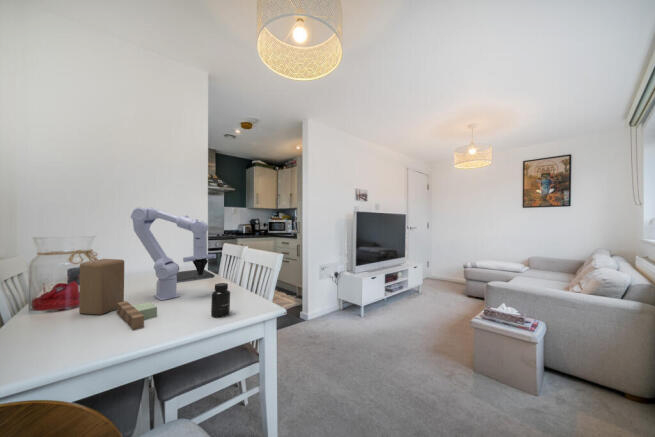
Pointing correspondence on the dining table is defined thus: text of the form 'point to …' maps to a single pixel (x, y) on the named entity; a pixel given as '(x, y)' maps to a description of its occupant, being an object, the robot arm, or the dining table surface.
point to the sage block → (147, 310)
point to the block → (101, 286)
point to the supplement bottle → (220, 300)
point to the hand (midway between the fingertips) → (200, 274)
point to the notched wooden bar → (130, 315)
